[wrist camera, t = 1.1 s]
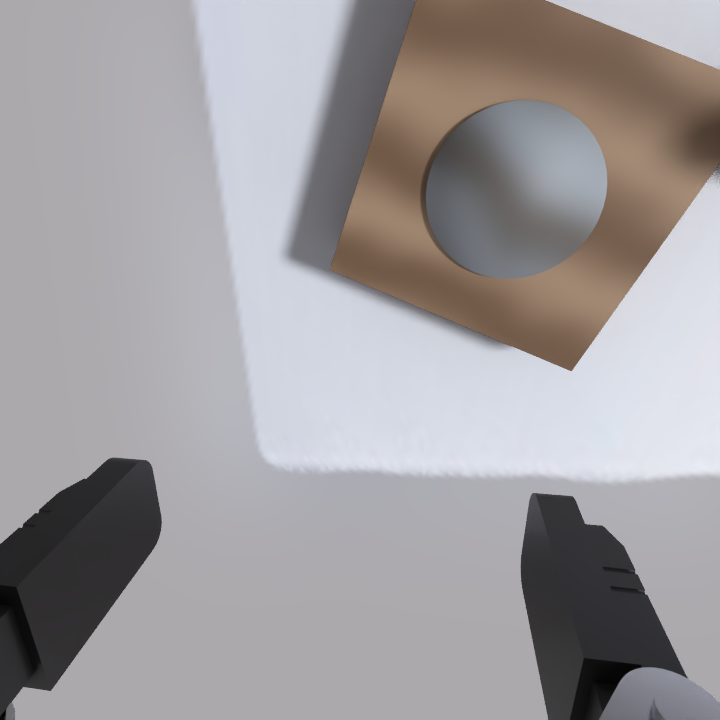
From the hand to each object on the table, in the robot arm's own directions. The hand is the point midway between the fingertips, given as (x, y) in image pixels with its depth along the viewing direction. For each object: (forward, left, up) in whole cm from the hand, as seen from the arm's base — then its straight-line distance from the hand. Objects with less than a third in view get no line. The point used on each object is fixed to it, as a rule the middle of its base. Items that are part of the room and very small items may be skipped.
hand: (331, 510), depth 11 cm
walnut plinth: (-3, +3, -25) cm, 26 cm away
